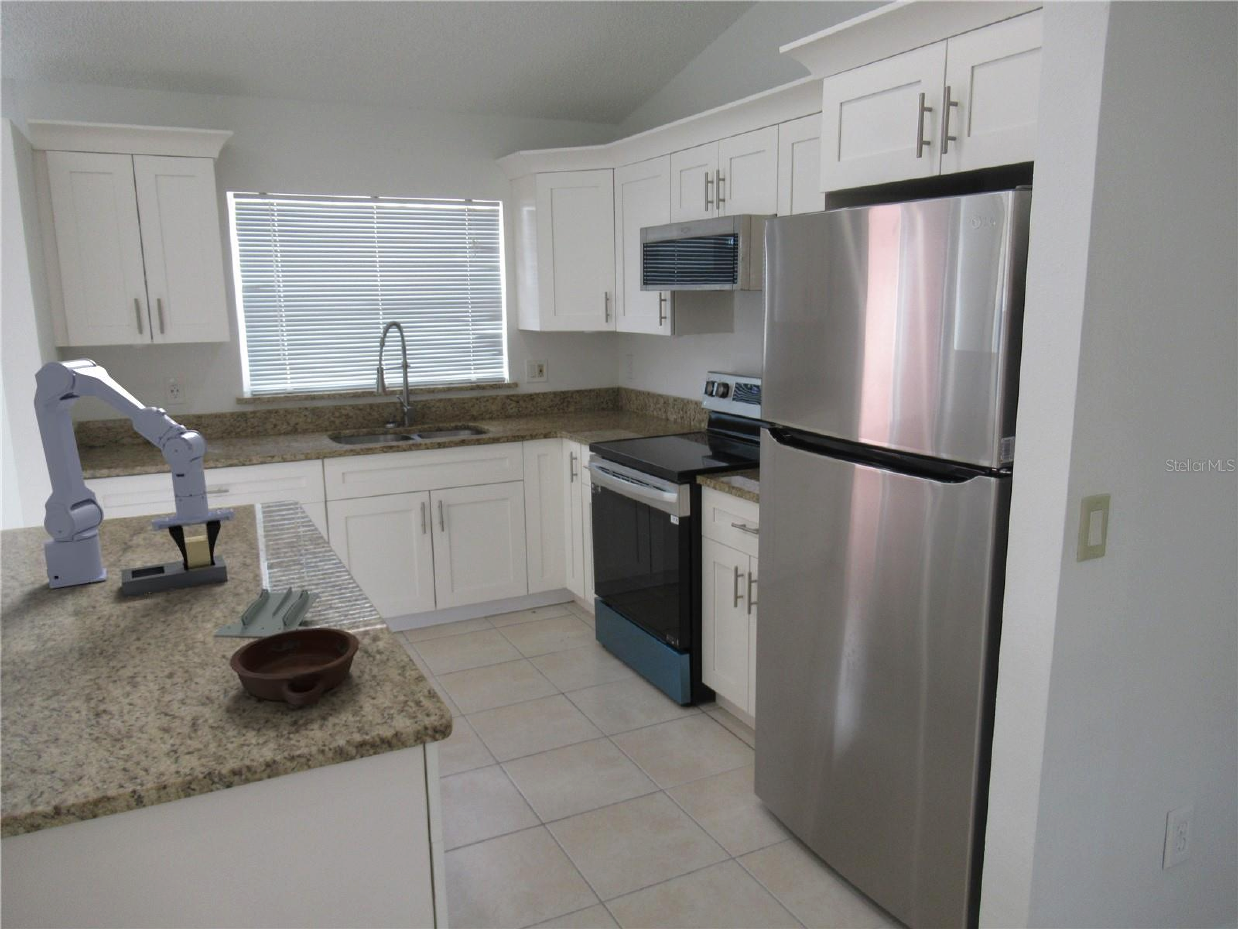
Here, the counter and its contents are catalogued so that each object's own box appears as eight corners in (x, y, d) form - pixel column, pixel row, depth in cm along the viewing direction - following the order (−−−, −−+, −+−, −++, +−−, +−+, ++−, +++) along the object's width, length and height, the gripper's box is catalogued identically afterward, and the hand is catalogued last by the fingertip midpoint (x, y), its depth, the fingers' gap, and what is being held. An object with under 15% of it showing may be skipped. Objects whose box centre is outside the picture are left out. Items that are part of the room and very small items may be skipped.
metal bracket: (249, 581, 154) (330, 582, 152) (258, 607, 156) (337, 609, 154) (207, 632, 141) (294, 634, 139) (217, 660, 144) (302, 662, 142)
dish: (343, 643, 139) (341, 613, 138) (378, 696, 121) (375, 662, 120) (226, 667, 131) (222, 636, 130) (243, 729, 112) (239, 693, 111)
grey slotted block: (123, 597, 163) (121, 582, 162) (123, 584, 170) (121, 569, 170) (227, 580, 171) (226, 566, 171) (223, 568, 179) (221, 554, 178)
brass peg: (189, 577, 170) (185, 542, 169) (188, 571, 174) (184, 538, 172) (212, 573, 172) (208, 539, 171) (210, 568, 176) (206, 535, 174)
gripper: (149, 502, 163) (158, 571, 165) (232, 492, 170) (240, 559, 172) (148, 495, 169) (157, 562, 171) (228, 486, 176) (236, 550, 178)
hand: (198, 560), depth 172 cm, fingers closed on brass peg, 4 cm apart
